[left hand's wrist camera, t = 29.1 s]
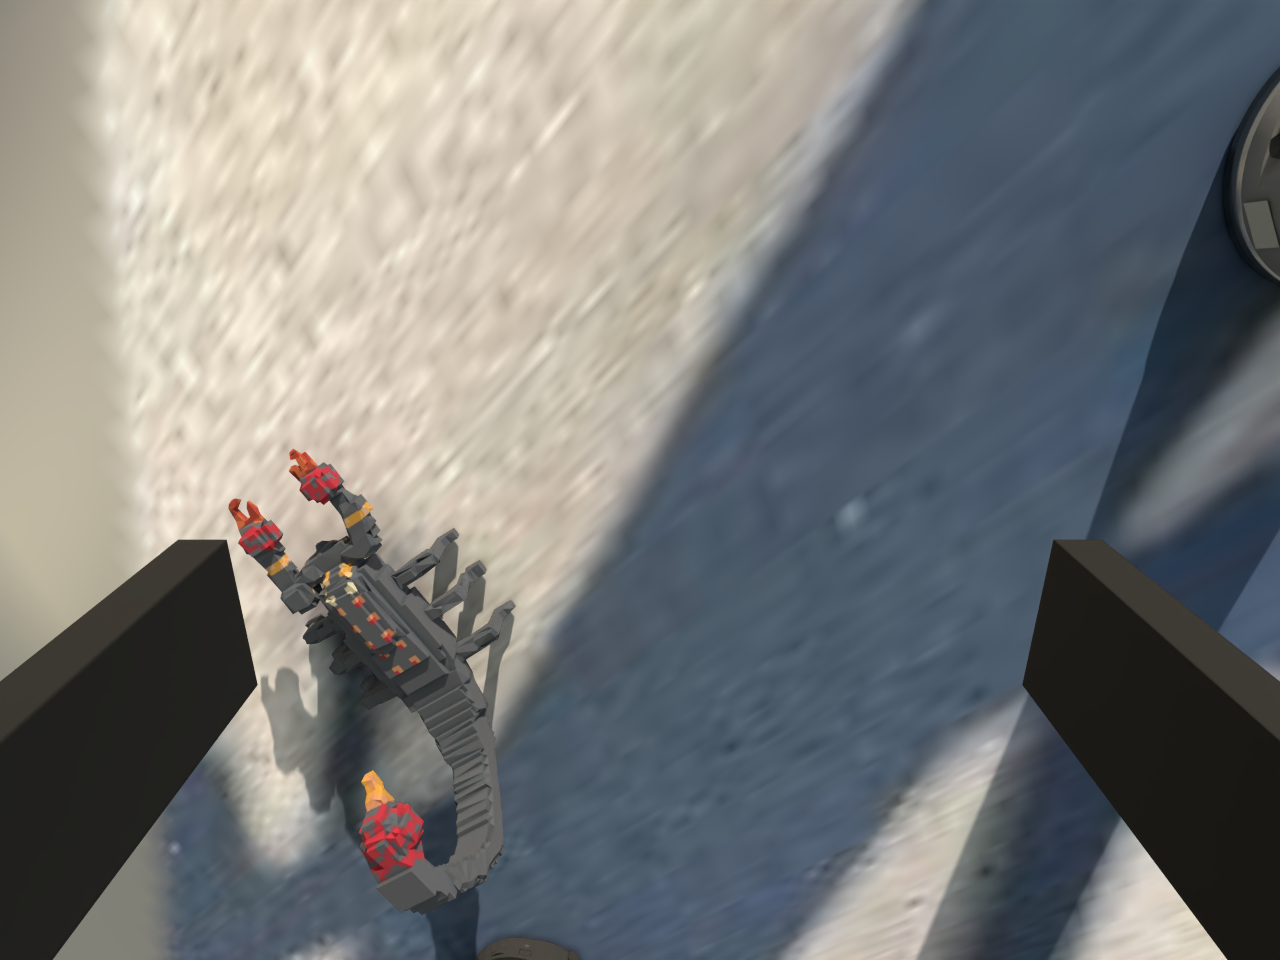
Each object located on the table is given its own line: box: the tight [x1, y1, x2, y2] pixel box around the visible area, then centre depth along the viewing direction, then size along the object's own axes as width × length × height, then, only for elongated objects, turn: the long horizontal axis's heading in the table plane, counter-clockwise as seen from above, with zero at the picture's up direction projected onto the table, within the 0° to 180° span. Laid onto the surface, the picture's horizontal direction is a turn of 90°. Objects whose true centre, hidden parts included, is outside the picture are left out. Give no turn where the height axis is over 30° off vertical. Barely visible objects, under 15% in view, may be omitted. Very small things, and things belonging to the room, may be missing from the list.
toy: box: [228, 449, 515, 915], centre depth 47 cm, size 13×27×18 cm, turn 32°
